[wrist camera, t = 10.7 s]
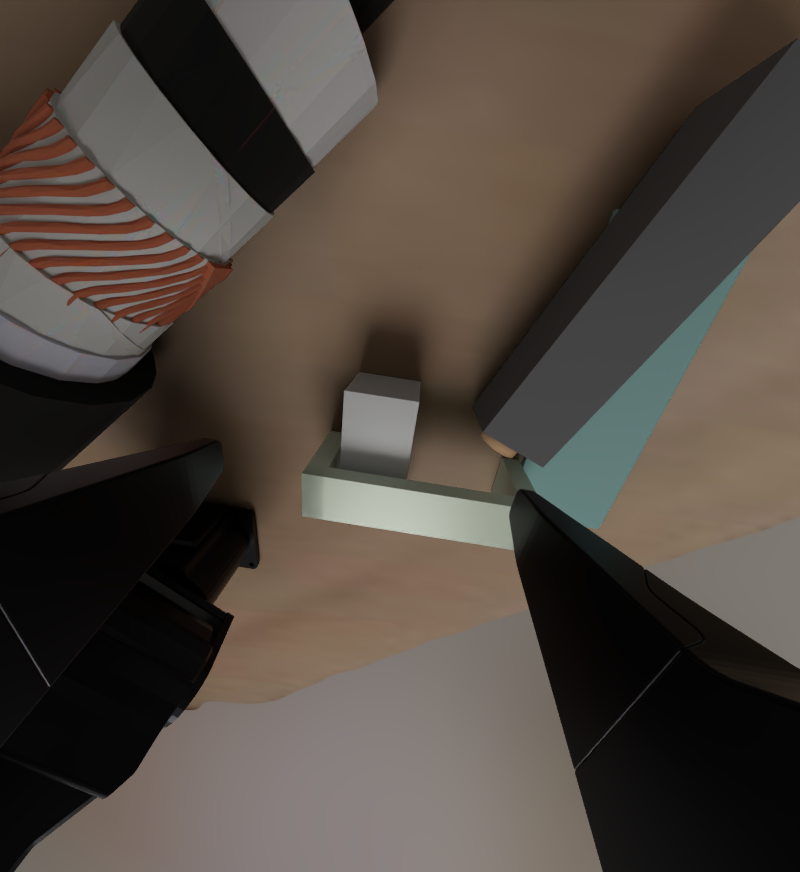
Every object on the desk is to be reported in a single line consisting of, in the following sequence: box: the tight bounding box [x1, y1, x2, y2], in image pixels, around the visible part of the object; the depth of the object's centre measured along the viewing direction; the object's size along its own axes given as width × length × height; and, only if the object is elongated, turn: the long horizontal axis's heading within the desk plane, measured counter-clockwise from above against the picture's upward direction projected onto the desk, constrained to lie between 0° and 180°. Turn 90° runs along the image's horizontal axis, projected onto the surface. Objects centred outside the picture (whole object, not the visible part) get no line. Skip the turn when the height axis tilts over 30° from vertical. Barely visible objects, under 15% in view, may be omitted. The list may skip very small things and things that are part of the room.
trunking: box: [340, 372, 421, 531], centre depth 20 cm, size 9×4×4 cm, turn 172°
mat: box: [522, 209, 751, 529], centre depth 19 cm, size 19×7×1 cm, turn 172°
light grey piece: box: [302, 431, 536, 550], centre depth 20 cm, size 3×13×6 cm, turn 83°
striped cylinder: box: [0, 0, 394, 483], centre depth 14 cm, size 10×34×10 cm, turn 126°
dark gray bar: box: [473, 38, 800, 468], centre depth 15 cm, size 18×4×4 cm, turn 150°
